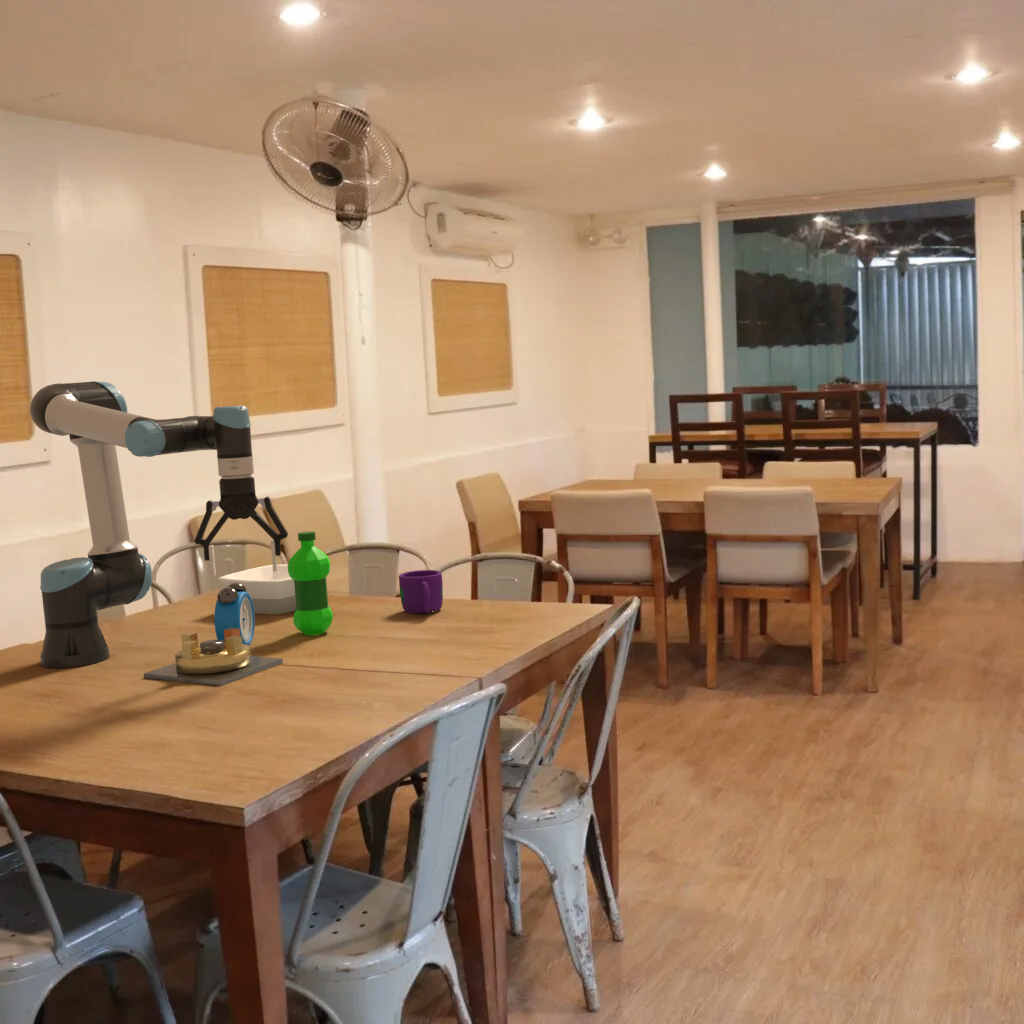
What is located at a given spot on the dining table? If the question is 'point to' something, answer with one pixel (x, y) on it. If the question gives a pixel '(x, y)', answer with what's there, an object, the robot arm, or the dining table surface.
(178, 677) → the spindle plate
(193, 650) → the notched brass disc
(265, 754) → the dining table surface
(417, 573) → the mug
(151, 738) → the dining table surface
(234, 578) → the bowl
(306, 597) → the plastic bottle
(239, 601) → the alarm clock
